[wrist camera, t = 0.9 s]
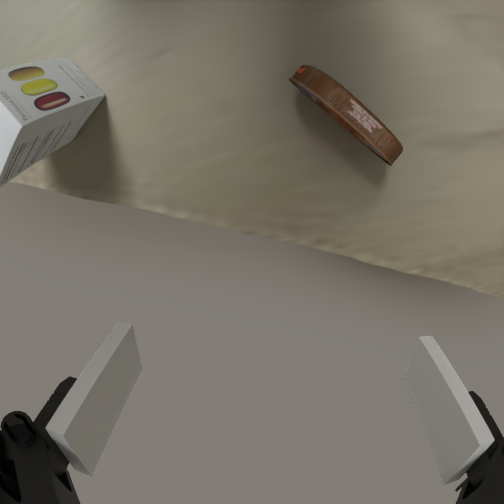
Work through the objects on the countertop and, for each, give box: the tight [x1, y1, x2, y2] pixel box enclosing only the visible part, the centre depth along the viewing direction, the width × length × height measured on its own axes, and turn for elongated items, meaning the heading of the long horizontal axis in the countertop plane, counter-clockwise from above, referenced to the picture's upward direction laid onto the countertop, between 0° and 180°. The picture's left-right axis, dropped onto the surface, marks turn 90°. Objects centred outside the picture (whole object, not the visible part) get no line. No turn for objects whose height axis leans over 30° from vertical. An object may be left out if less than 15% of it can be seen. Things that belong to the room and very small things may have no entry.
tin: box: [289, 65, 403, 166], centre depth 30 cm, size 15×3×8 cm, turn 54°
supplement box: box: [0, 58, 105, 187], centre depth 25 cm, size 10×9×17 cm
